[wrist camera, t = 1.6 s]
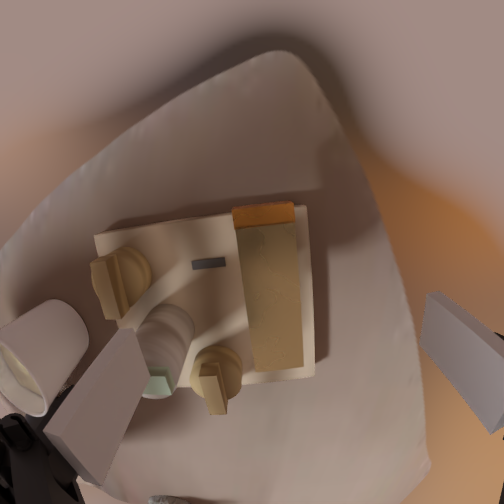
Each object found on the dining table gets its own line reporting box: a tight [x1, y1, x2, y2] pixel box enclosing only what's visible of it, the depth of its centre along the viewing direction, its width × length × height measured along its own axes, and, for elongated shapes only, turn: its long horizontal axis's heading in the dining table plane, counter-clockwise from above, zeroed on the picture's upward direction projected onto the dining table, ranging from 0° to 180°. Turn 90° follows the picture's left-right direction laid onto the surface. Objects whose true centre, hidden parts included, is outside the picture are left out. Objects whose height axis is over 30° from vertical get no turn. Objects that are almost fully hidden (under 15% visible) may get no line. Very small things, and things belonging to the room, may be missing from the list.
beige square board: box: [90, 204, 315, 415], centre depth 23 cm, size 20×18×11 cm
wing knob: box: [232, 200, 304, 373], centre depth 20 cm, size 3×10×10 cm, turn 7°
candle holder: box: [0, 299, 89, 417], centre depth 24 cm, size 10×10×12 cm
